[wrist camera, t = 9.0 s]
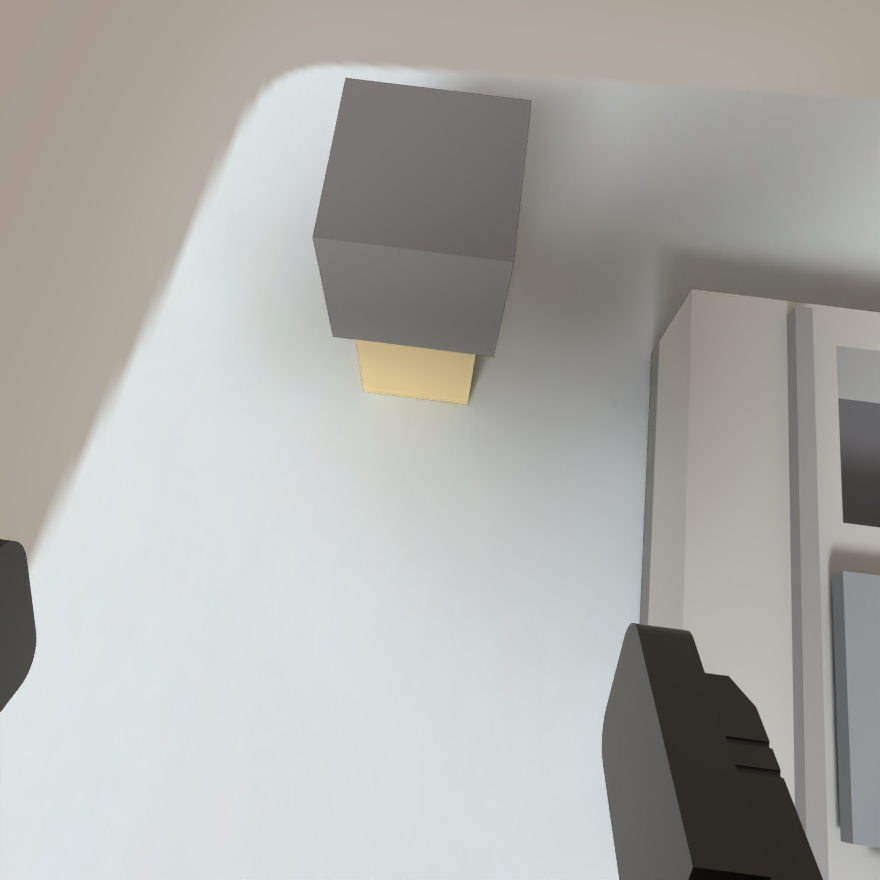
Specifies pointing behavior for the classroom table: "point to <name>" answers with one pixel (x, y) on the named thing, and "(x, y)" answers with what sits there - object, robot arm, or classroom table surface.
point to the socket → (767, 517)
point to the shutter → (858, 704)
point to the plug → (420, 231)
